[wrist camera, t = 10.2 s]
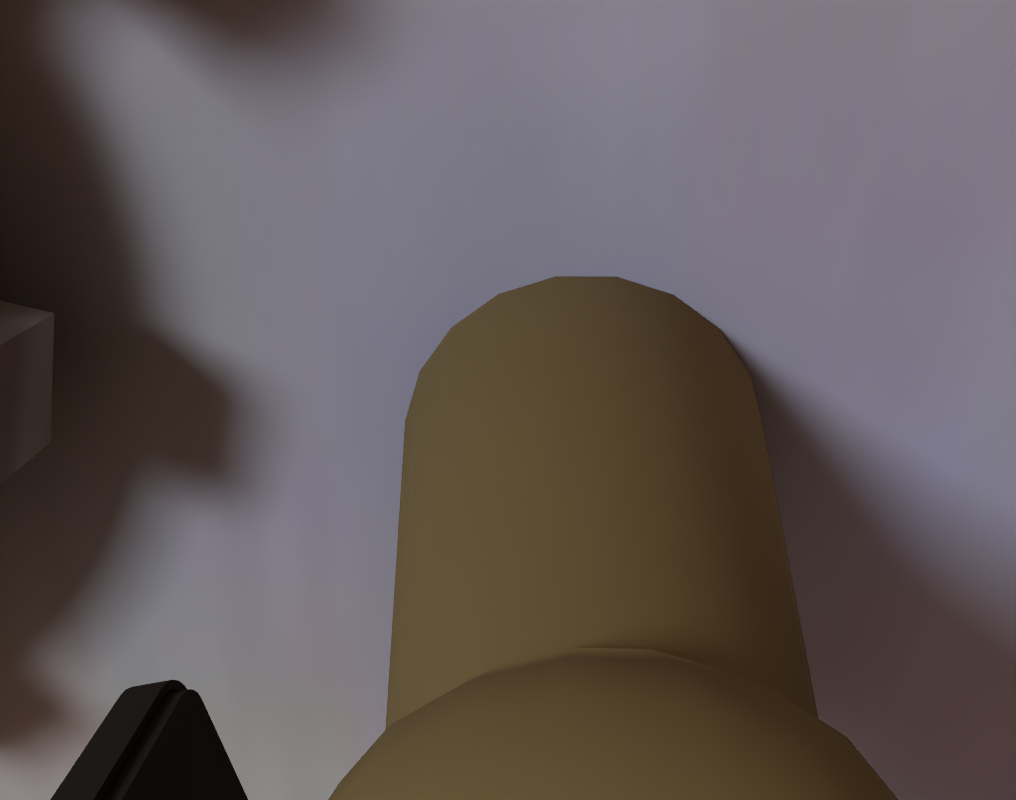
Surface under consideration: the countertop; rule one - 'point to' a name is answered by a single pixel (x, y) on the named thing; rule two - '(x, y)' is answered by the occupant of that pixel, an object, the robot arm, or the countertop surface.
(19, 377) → the sprocket wheel
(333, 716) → the countertop surface
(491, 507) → the cork
